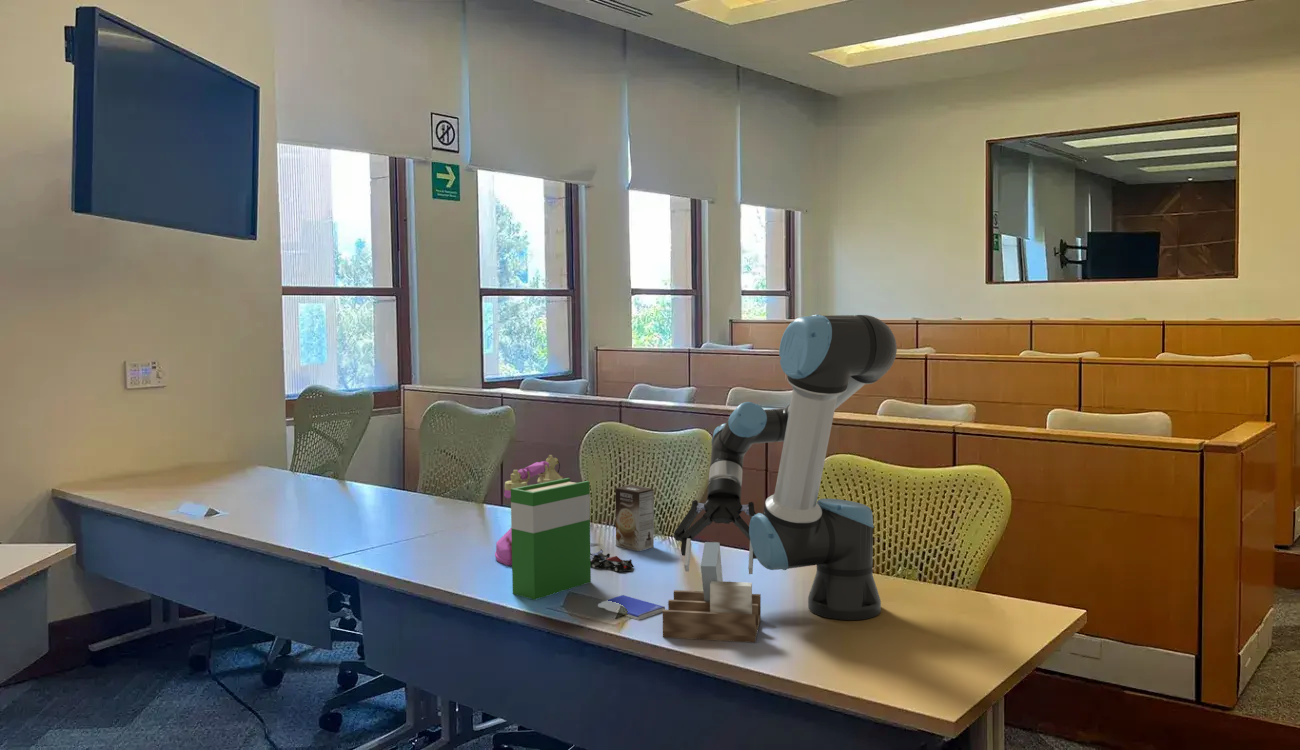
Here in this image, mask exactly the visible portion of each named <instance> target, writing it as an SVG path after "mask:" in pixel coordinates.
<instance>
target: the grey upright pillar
mask: <svg viewBox="0 0 1300 750" xmlns="http://www.w3.org/2000/svg"><path fill="white" fill-rule="evenodd" d="M720 543H721V542H720V541H719V542H717V541H716V542H715V541H714V542H711V541H710V542H709V541H704V544H703V550H702V556H701V557H702V558H701V561H700V562H701V563H700V574H701V580H702V590H703V593H704V601H709V602H710V583H711V581H724V579H723V569H722V556H721V545H720Z"/></svg>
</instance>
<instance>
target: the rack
mask: <svg viewBox="0 0 1300 750" xmlns="http://www.w3.org/2000/svg"><path fill="white" fill-rule="evenodd" d="M761 599H762V597H761V594H759V593H753V583H752V582H746V581H745V582H744V581H743V582H742V581H724V580H723V581H711V583H710V602H709V601H704V593H703V591H701V590H700V591H699V590H683V589H682V590H678V589H674V590H673V599H668V600H667V601H668V602H667V603H668V604H667V606H668V609H665V610H663V612H662V638H671V639H672V638H673V639H684V640H685V639H688V640H689V639H690V640H705V641H707V640H708V641H719V642H721V641H722V642H741V643H756V640H757V635H758V631H759V627H760V623H761V616H762V614H761V611H762V609H761V608H762V607H761V606H762V605H761V601H762V600H761Z"/></svg>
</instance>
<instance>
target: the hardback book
mask: <svg viewBox="0 0 1300 750" xmlns="http://www.w3.org/2000/svg"><path fill="white" fill-rule="evenodd" d="M590 487H591V485H590V481H588V480H585V481H580V482H574V481H573V482H572V481H571V478H570V477H566V478H565V477H564V479H559V480H554V481H549V482H544V483H539V482H538V483H536V484H535V483H534V484H529V485H528V484H527V486H523V487H518V488H513V489H511V498H510V517H511V519H510V520H511V521H510V522H511V524H510V528H511V531H512V568H511V570H512V571H511V574H512V575H511V576H512V577H511V578H512V582H511V583H512V594H513V595H517V596H520V597H523V598H525V599H526V598H527V599H528V600H534V601H536V600H539V599H542V598H545V597H546V598H547V597H548V596H553V595H556V594H557V593H561V592H565V591H567V590H570V589H574V588H577V587H581V586H584V585H586V584H591V582H592V579H591V578H592V576H591V575H592V574H591V572H592V569H591V568H592V567H591V555H590V553H591V508H590V507H591V503H590V502H591V499H590V498H591V497H590Z"/></svg>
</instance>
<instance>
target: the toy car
mask: <svg viewBox="0 0 1300 750" xmlns="http://www.w3.org/2000/svg"><path fill="white" fill-rule="evenodd" d="M603 553H604V550H603V549H602V548H600V550H599V551H597V552H594V553H592V552H590V556H592V560H591V568H592V569H600V570H605V571H613V572H615V573H621V572H625V571H627V572H628V571H629V572H634V568H635V565H634V564H633V562H632V558H631V559H621V558H620V557H618V556H617V555H615V556H611V553H607V554H603Z"/></svg>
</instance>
